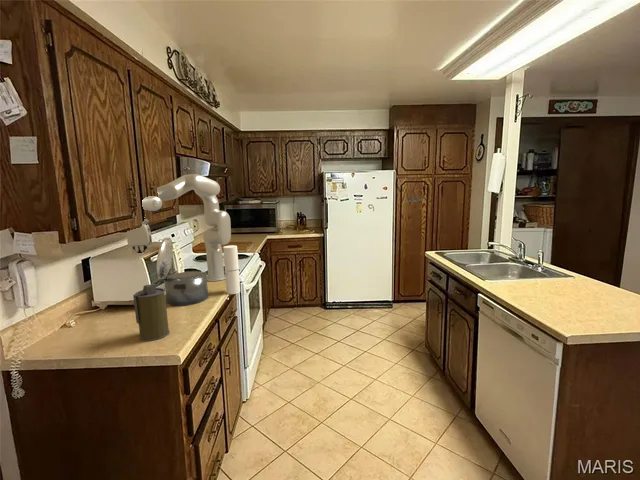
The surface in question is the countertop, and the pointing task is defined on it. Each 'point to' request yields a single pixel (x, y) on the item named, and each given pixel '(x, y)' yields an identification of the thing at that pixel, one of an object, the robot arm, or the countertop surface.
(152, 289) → the canister
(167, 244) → the cooker lid
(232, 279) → the cylindrical container
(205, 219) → the robot arm
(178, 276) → the cooker pot
